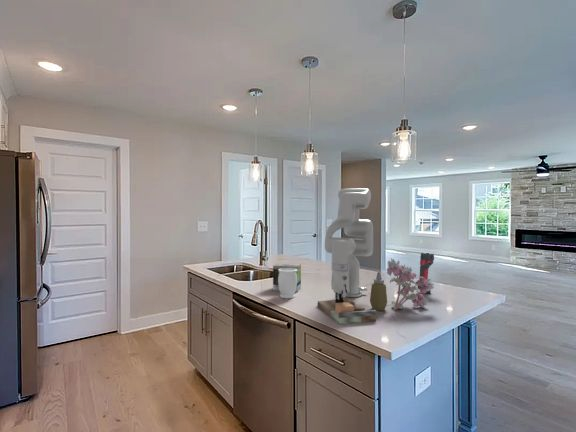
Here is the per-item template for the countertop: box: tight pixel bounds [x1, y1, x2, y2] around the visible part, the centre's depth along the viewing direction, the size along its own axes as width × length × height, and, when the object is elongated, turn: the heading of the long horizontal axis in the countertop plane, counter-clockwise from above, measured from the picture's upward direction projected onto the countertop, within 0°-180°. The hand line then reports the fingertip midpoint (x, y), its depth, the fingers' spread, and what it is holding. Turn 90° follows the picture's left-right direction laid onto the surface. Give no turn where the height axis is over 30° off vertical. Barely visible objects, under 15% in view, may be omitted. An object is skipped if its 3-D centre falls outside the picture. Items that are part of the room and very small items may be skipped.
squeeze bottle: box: [369, 271, 388, 312], centre depth 156 cm, size 8×8×18 cm
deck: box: [317, 298, 377, 325], centre depth 149 cm, size 17×26×4 cm, turn 15°
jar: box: [278, 268, 297, 299], centre depth 176 cm, size 11×10×15 cm
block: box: [335, 302, 354, 315], centre depth 140 cm, size 6×6×4 cm
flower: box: [386, 257, 435, 311], centre depth 158 cm, size 20×22×25 cm
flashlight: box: [417, 252, 435, 294], centre depth 190 cm, size 8×8×23 cm
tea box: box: [272, 263, 302, 293], centre depth 193 cm, size 15×10×15 cm, turn 76°
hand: (339, 307), depth 145 cm, fingers closed
